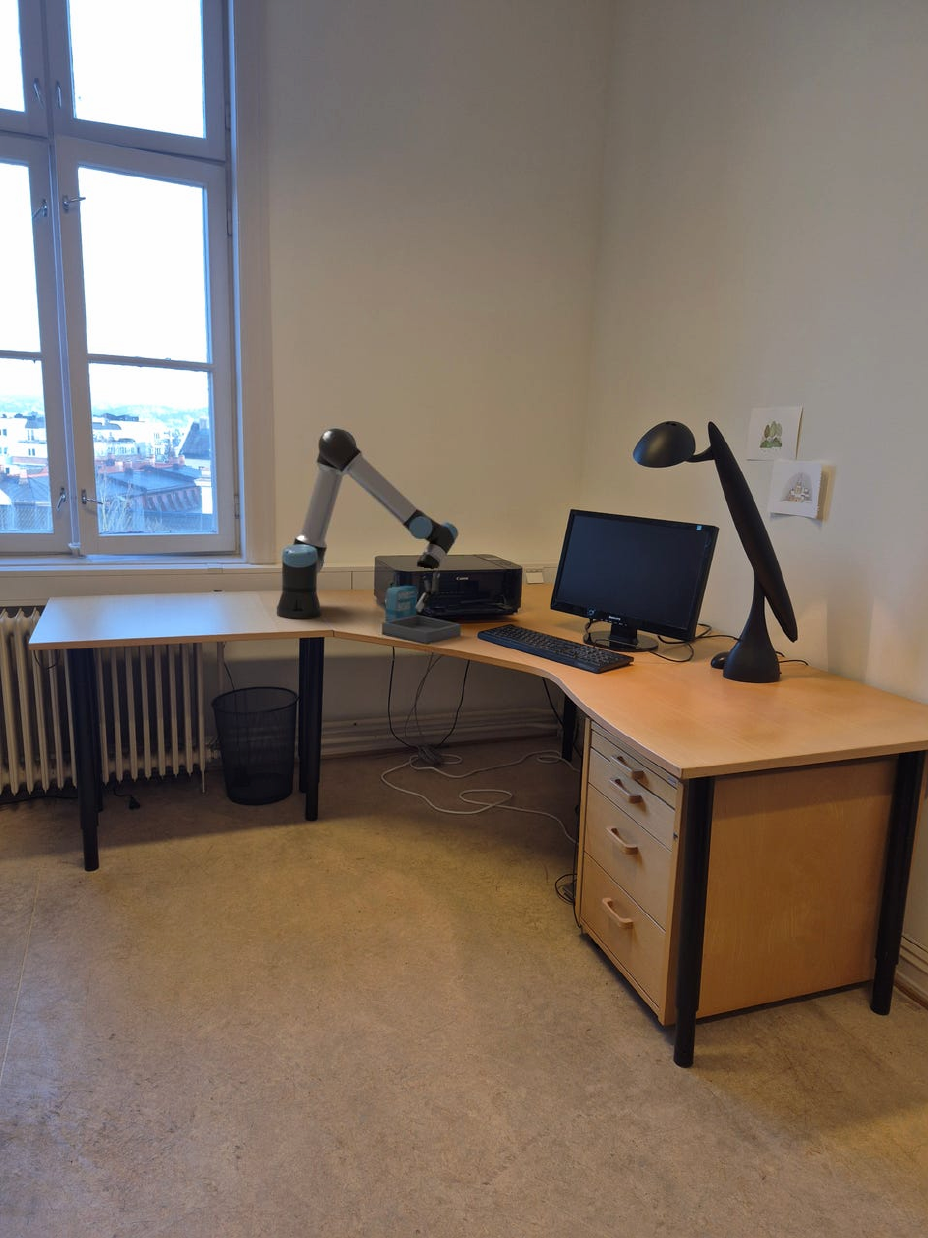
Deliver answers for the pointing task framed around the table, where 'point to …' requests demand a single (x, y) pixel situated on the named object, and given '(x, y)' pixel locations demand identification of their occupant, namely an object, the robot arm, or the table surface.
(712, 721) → the table surface
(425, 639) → the tray
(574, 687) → the table surface
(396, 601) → the blue printed box
